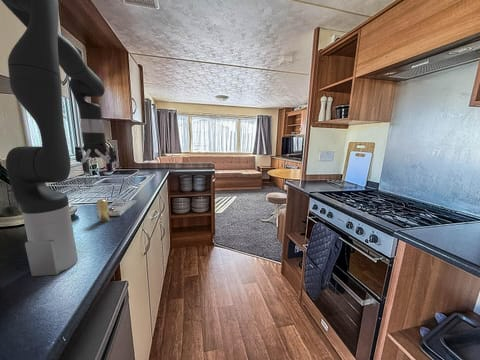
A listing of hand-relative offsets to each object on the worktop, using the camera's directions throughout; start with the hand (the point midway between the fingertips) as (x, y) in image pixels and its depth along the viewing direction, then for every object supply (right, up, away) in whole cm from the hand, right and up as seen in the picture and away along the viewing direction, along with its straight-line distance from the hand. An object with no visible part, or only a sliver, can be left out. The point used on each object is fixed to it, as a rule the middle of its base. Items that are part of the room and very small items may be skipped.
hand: (98, 172), depth 85 cm
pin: (0, -21, +4) cm, 21 cm away
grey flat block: (-2, -18, +18) cm, 25 cm away
